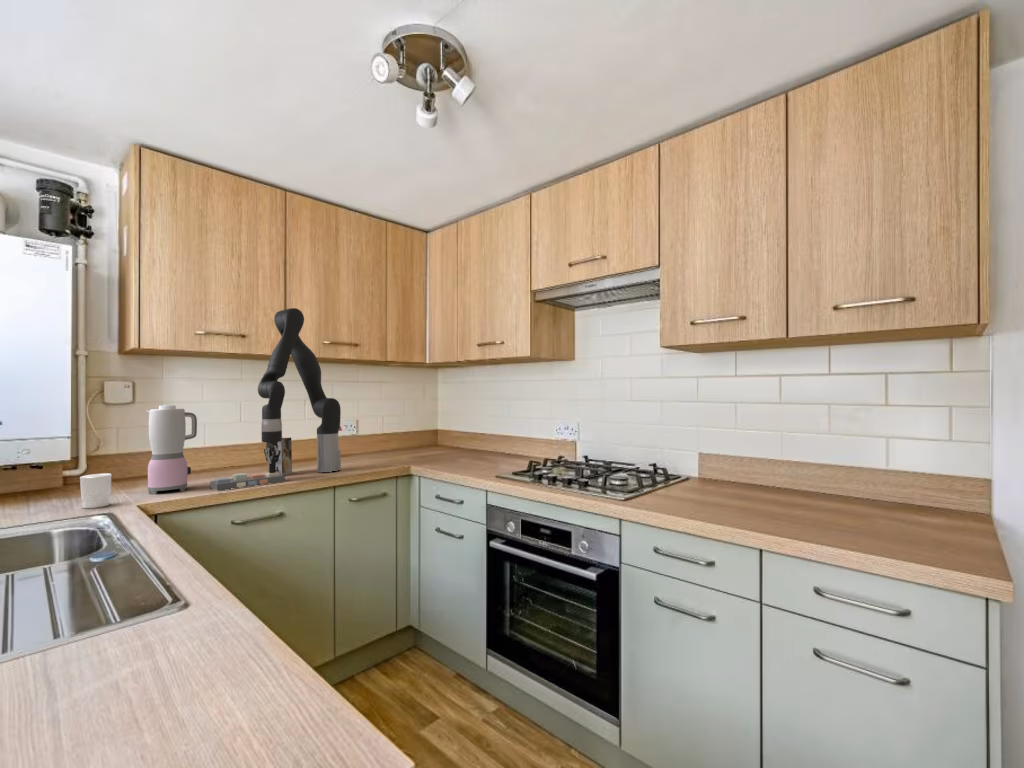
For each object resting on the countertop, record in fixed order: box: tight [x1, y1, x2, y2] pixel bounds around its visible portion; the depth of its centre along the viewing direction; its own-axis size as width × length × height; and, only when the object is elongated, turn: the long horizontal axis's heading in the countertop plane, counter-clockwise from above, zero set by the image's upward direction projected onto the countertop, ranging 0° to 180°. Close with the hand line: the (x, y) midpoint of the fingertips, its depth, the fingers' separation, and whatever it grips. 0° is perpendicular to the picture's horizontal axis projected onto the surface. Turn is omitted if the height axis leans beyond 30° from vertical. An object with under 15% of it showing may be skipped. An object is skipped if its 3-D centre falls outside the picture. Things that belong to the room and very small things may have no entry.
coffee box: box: [267, 437, 293, 476], centre depth 216 cm, size 9×6×16 cm
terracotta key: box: [249, 473, 264, 479], centre depth 196 cm, size 4×4×3 cm
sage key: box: [232, 472, 248, 481], centre depth 191 cm, size 4×4×3 cm
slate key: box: [214, 477, 231, 483], centre depth 187 cm, size 4×4×3 cm
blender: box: [146, 404, 198, 495], centre depth 185 cm, size 16×12×32 cm
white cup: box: [79, 472, 112, 509], centre depth 160 cm, size 8×8×10 cm
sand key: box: [265, 472, 279, 477], centre depth 200 cm, size 4×4×3 cm
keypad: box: [209, 473, 286, 492], centre depth 193 cm, size 24×10×2 cm, turn 134°
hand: (272, 472), depth 200 cm, fingers closed
